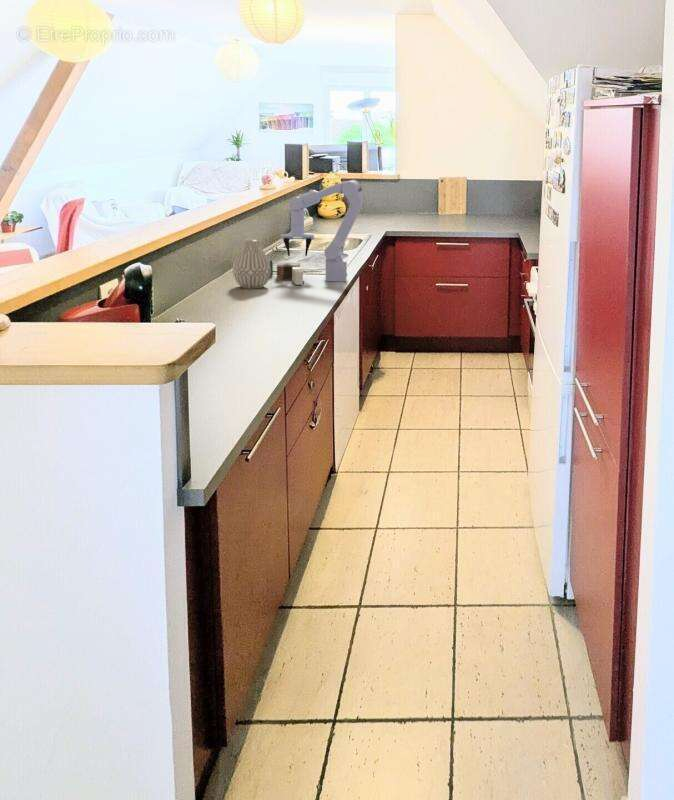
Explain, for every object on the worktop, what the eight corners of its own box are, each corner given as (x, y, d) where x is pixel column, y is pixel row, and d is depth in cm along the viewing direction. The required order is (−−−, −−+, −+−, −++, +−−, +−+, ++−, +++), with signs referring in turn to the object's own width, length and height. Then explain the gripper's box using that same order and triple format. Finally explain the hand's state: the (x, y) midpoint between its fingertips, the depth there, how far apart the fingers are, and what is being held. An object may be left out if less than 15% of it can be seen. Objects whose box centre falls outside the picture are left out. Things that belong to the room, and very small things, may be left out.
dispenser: (299, 277, 442) (299, 261, 440) (299, 280, 434) (299, 264, 432) (277, 276, 441) (277, 261, 439) (276, 279, 434) (276, 264, 432)
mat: (304, 281, 430) (304, 280, 430) (304, 284, 424) (304, 283, 424) (292, 281, 429) (292, 280, 429) (292, 284, 424) (292, 283, 424)
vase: (256, 292, 405) (255, 243, 399) (225, 288, 413) (224, 240, 407) (278, 286, 418) (278, 239, 412) (247, 282, 426) (247, 236, 420)
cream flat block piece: (298, 279, 432) (299, 267, 430) (302, 284, 421) (302, 271, 419) (292, 279, 431) (292, 267, 430) (295, 284, 420) (295, 271, 419)
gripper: (313, 223, 437) (313, 254, 441) (281, 223, 436) (281, 254, 440) (314, 225, 430) (313, 256, 434) (280, 225, 430) (280, 256, 433)
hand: (297, 255), depth 437 cm, fingers open, 7 cm apart
